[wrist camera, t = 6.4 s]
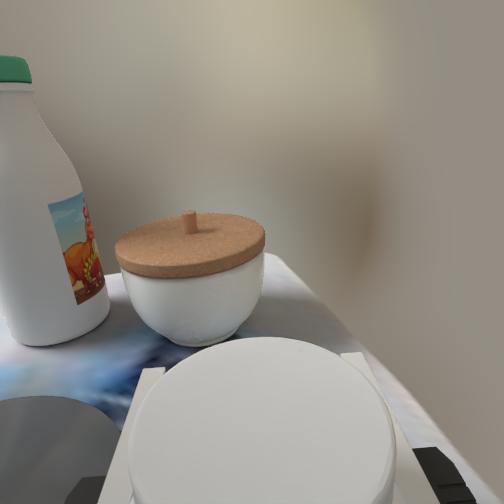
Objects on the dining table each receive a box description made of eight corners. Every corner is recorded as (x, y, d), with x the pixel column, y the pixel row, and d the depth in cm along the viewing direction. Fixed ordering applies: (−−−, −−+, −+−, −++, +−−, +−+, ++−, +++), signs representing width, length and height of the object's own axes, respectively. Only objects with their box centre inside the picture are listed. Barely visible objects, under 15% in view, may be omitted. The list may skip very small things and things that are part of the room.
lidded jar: (295, 335, 27) (293, 214, 24) (153, 391, 23) (124, 252, 19) (234, 281, 36) (225, 188, 32) (123, 314, 31) (99, 209, 28)
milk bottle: (53, 360, 26) (-51, 43, 19) (-9, 336, 29) (-119, 59, 22) (130, 307, 32) (76, 55, 25) (72, 293, 36) (9, 66, 28)
